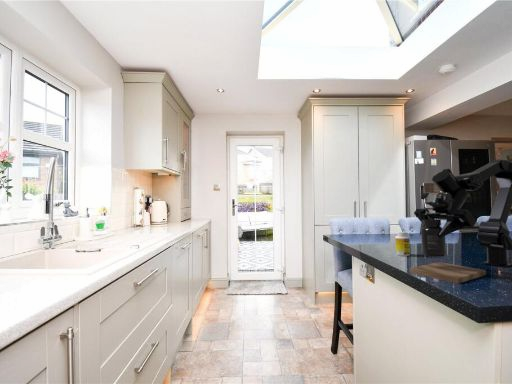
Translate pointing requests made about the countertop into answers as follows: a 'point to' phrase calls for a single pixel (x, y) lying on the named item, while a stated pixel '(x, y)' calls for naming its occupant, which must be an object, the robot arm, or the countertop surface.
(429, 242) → the supplement bottle
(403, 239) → the supplement bottle
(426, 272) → the walnut board
